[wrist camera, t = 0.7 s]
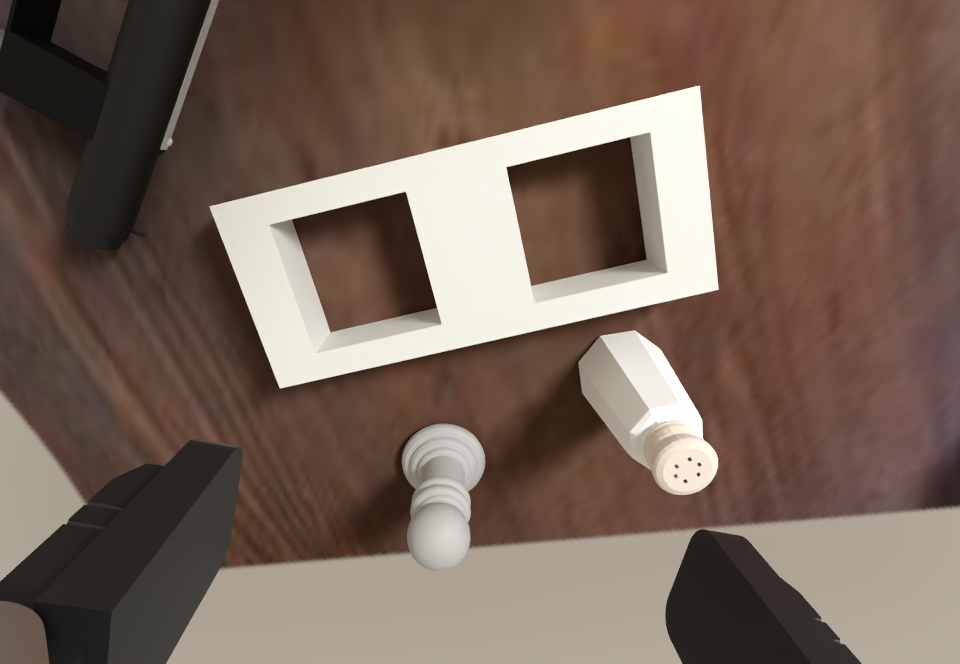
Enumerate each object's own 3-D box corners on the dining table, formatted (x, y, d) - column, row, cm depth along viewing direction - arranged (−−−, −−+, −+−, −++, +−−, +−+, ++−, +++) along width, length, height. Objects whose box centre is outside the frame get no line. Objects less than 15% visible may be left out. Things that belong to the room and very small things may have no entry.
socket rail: (672, 92, 29) (699, 85, 25) (692, 274, 32) (718, 289, 28) (238, 199, 30) (209, 206, 27) (298, 364, 33) (279, 388, 30)
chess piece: (494, 480, 36) (502, 583, 28) (418, 500, 36) (402, 609, 28) (471, 410, 34) (472, 498, 26) (391, 433, 35) (366, 526, 26)
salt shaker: (601, 424, 35) (658, 542, 24) (560, 357, 33) (601, 453, 23) (678, 382, 34) (771, 486, 24) (639, 312, 32) (720, 390, 22)
